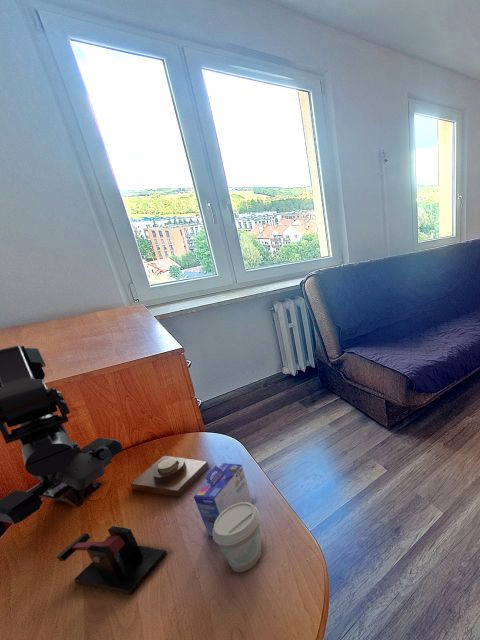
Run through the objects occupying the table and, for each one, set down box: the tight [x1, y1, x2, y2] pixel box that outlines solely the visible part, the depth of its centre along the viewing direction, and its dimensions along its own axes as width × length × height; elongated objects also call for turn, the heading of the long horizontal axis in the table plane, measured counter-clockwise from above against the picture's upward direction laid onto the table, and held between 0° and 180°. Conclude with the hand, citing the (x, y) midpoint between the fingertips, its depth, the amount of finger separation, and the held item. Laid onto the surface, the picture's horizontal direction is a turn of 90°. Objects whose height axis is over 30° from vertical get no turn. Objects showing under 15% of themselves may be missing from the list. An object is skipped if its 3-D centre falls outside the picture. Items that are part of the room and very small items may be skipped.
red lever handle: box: [56, 532, 125, 562], centre depth 68 cm, size 13×5×2 cm, turn 81°
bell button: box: [158, 458, 178, 474], centre depth 89 cm, size 4×4×2 cm
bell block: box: [130, 455, 210, 498], centre depth 90 cm, size 14×10×4 cm
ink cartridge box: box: [193, 462, 253, 537], centre depth 77 cm, size 10×6×14 cm, turn 174°
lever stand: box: [73, 525, 168, 596], centre depth 68 cm, size 13×8×9 cm, turn 81°
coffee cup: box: [212, 502, 262, 573], centre depth 69 cm, size 8×8×12 cm
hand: (79, 505), depth 70 cm, fingers closed
